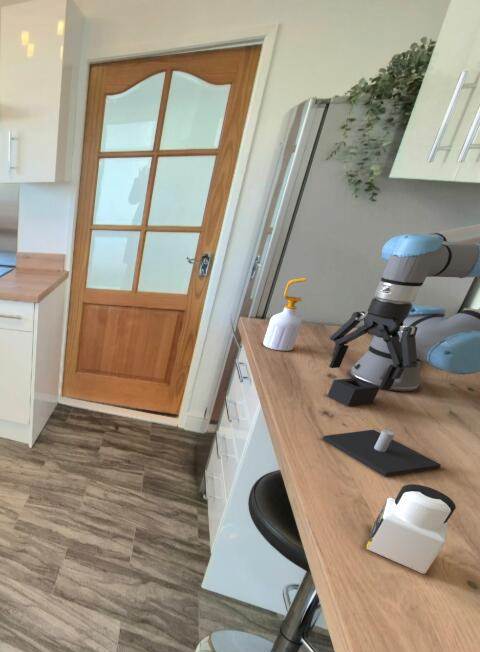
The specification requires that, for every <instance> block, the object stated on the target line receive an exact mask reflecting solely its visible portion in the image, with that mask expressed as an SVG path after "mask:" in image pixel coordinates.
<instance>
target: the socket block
mask: <svg viewBox="0 0 480 652" xmlns="http://www.w3.org/2000/svg"><path fill="white" fill-rule="evenodd" d="M379 390H380V389H379V386H376V385H374V384H372V383H369V382H367V381H365V380H362V379H360V378H353V377H350V378H340V379H333V381H332V383H331V386H330V388H329V390H328V393H327V397H328V398H331V399H332V400H335V401H337V402H339V403H340V404H343V405H345V406H347V407H353V406H360V405H361V406H362V405H370V404H373V403H374V401H375V399H376V397H377V394H378V392H379Z"/></svg>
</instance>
